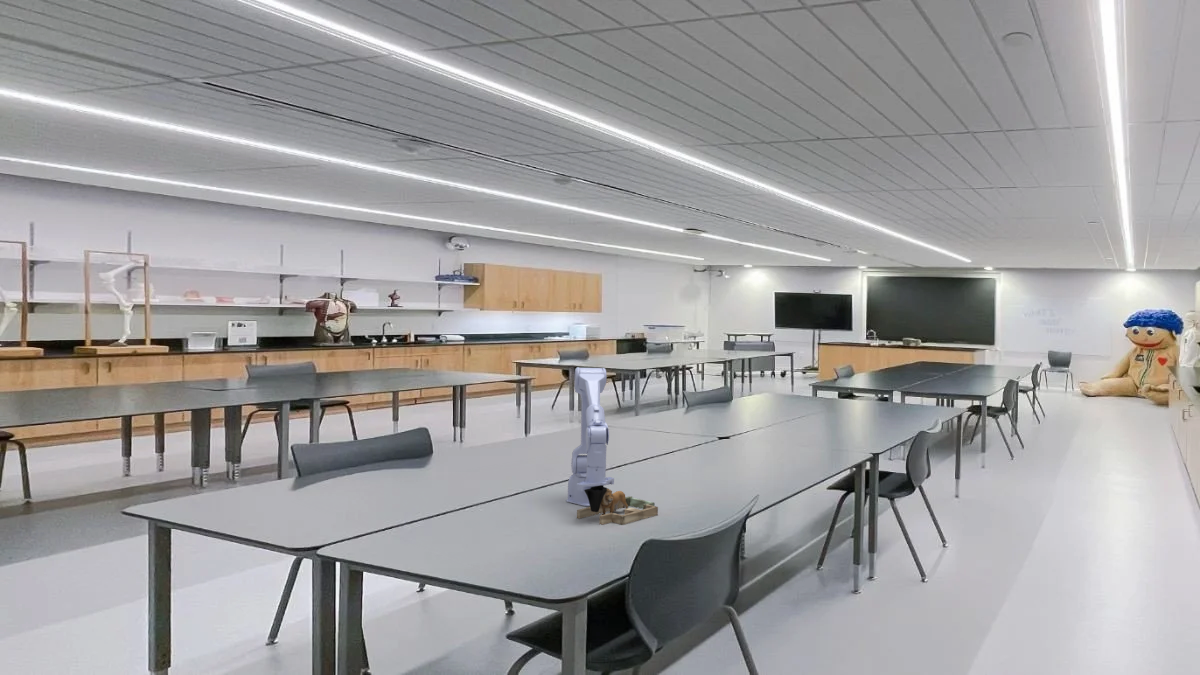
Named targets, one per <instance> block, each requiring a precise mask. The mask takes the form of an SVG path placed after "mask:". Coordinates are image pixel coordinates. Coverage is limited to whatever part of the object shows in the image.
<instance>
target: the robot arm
mask: <svg viewBox="0 0 1200 675" xmlns="http://www.w3.org/2000/svg"><path fill="white" fill-rule="evenodd" d="M607 376H608V375H607V369H606V368H605V367H579V366H577V367H576V368H575V370H574V391H575V392H574V393H577V394H579V395H580V400H581V405H580V406H581V409H580V415H581V417H580V421H581V422H580V445H578V446H577V447H575V448H574V449H573V450H572V453H571V463H570V464H571V465H570V466H571V469H570V470H571V473H572V474H571V475H570V476H569V478H568V482H567V499H565V502H567V503H571V504H575V505H579V506H582V507H590V508H591V511H593V512H599V508H600V505H601V502H602V499H603V497H604V495H605V493H606V492H607V487H605V486H607V485H608V486H609V485H610V486H611V485H615V477H611V476H608V477H607V475H606V473H607V472H606V471H607V469H606V468H607V446H608V445H609V440H610V431H609V430H610V429H609V426H608V423H607V422H606V414H605V409H604V407H603V406H602V405H601V393H603V391H604V390H605V387H606V384H607V378H608V377H607Z"/></svg>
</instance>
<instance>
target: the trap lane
mask: <svg viewBox="0 0 1200 675" xmlns="http://www.w3.org/2000/svg"><path fill="white" fill-rule="evenodd" d="M625 498H626V503H627V505H628V509H626V508H623V504H622V502H621V501H619V503H618V508H617V510H618V509H619V508H620V509H624V510H625V512H624V514H618V513H616V512H613V513H610V508H606V509H605V511H606V514H604V515H601V514H603V511H602V506H601V505H600V508H599V512H593V511H591V508H590V506H586V507H584V508H579V509H577V510H576V519H579V520H580V519H584V517H585V518H588V517H593V516H596V515H599V516H598V517H599V522H598V523H599V525H600V524H601V526H603V525H607V524H610V523H614V524H618V525H621V526H624V525H626V524H630V523H634V522H639V521H641V519H642V520H645V519H649V518H652V517H654V516H655V515H656V516H658V514H659V507H658V506H655V503H656V502H653V501H649V500H643V499H640V498H636V497H635V498H634V497H633V496H630V495H629V496H625ZM633 506H634V507H633ZM637 507H639V508H637ZM641 508H643V509H641ZM614 509H615V505H614V508H613V510H614ZM620 509H619V510H620ZM607 511H608V512H609V513H608V512H607ZM599 513H600V514H599ZM595 514H596V515H595ZM651 516H652V517H651ZM656 516H655V517H656ZM648 517H649V518H648Z"/></svg>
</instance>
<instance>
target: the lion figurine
mask: <svg viewBox="0 0 1200 675" xmlns="http://www.w3.org/2000/svg"><path fill="white" fill-rule="evenodd" d="M606 488H607V487H606ZM625 497H626V494H625V492H624V491H622V490H618V491H614V492H613V490H611V489H610V488H607V492H606V493H605V495H604V497H603V499H602V502H601V506H602V511H603V513H600V515H604V514H607V512H606V511H605V509H606V508H610V511H609V513H616V512H617V510H618V509H617V508H618V503H619V501H621V502H622V504H623V508H622V509H623V510H624V513H625V509H628V508H629V506H628V505H627V503H626V498H625ZM614 505H615V509H614V510H613V508H614Z"/></svg>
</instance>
